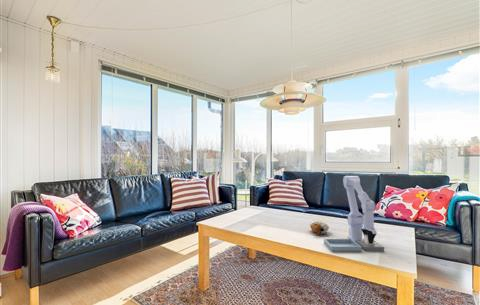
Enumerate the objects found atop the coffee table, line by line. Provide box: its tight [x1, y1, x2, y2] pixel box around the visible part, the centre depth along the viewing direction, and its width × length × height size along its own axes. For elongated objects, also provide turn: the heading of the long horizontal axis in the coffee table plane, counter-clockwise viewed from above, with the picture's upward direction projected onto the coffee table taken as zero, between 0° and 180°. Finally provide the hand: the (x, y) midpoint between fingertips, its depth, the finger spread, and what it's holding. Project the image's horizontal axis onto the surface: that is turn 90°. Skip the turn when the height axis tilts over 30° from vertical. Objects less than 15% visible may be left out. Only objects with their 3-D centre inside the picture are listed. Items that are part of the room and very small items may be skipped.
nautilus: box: [309, 221, 330, 237], centre depth 180 cm, size 8×22×15 cm
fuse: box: [363, 234, 375, 245], centre depth 151 cm, size 4×4×7 cm
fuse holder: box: [355, 240, 385, 252], centre depth 151 cm, size 12×12×2 cm
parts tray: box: [323, 238, 363, 253], centre depth 151 cm, size 14×18×3 cm
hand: (368, 242), depth 151 cm, fingers closed on fuse, 4 cm apart
